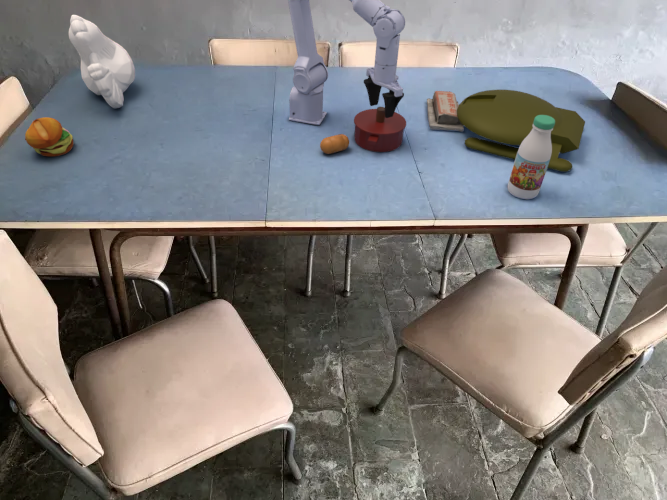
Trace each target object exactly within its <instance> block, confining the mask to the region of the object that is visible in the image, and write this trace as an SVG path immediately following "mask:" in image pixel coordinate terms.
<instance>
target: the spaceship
mask: <svg viewBox="0 0 667 500" xmlns="http://www.w3.org/2000/svg"><path fill="white" fill-rule="evenodd" d="M458 104H459V106H458V108H457V117H458V119H459V121H460V122H461V123H462V124H463V127H464V128H466V129H467V130H469V131H470V132H472V133H474V134H475V135H477V136H480V137H482V138H480V137H476V136H475V137H474V136H469V137H467V138H466V139H465V140H464V145H465V146H466V147H467V149H470V150H473V151H478V152H480V153H481V152H482V153H486V154H490V155H494V156H498V157H502V158H506V159H509V160H514V161H515V158H516V155H517V152H518V149H519V147H520V145H521V143H522V141H523V140H524V139H525V138H526V137H527V136H528V134H529V133H530V132H531V130H532V129H533V122H534V119H535V117H536V116H538V115H547V116H550V117H552V118H554V119H555V125H554V127H553V130H552V131H551V144H552V153H551V158H550V161H549V164H548V167H547V169H549V170H553V171H556V172H561V173H562V172H563V173H565V172H566V173H567V172H570V171H572V170H573V164H572V162H571V161H569V160H568V159H566V158H562V157H559V155H560V154H567V153H569V152H572V151H576V150H579V149H580V145H581V141H582V137H583V132H584V130H585V125H586V120H584V119H583V118H582V117H581V115H580V114H579V113H578V112H577V111H575V110H571V109H566V108H562V107H558V106H555V105H554V104H552V103H550V102H549V101H547V100H546V99H544V98H541V97H539V96H537V95H534V94H531V93H529V92H528V93H527V92H525V91H518V90H514V89H486V90H482V91H478V92H475V93H473V94H470V95H468V96H466V97H465V98H464V99H462V101H461V102H460V103H458ZM516 146H519V147H516Z"/></svg>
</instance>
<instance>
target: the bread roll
mask: <svg viewBox="0 0 667 500" xmlns="http://www.w3.org/2000/svg"><path fill="white" fill-rule="evenodd" d="M349 146H350V138H349V137H348V136H347V135H346V134H344V133H339V134H335V135H330V136H327V137H324V138H322V140H321V141H320V144H319V148H320V150H321V152H322V153H324V154H327V155H330V154H334V153H338V152H342V151H345V150H347V149H348V148H349Z"/></svg>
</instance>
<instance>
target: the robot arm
mask: <svg viewBox="0 0 667 500" xmlns="http://www.w3.org/2000/svg"><path fill="white" fill-rule="evenodd" d="M348 1H349V2H351V3H352V9H353V12H355V13H356V14H357V15H358V16H359V17H360V18H362V19H363V21H365V22H366V23H368V25H370V26H371V27H372V30H373V33H374V36H375V37H376V43H375V55H374V66H373V67H369V68H366V70H365V71H366V73H365V75H366V77H367V78H365V79H364V80H363V84H364V86H365V88H366V91H367V96H368V102H369V106H370V107H373V106H378V104H379V101H380V97H381V96H382V99H383V103H384V108H385V117H386V118H389V117H393V114H394V112H396V109H397V107H398V105H399V103H400V102H401V100H402V99H403V98H404V97H405V93H404V88H403V87H402V86H401V85H400V83H399V81H398V80H399V76H398V75H397V67H398V59H399V49H400V42H401V41H400V39H401V33H402V32H403V30H404V29H405V26H406V19H405V16H404V14H403V13H402V12H401V10H399V9H397V8H391V7H390V5H386V4H385V3H384V2H383V1H381V0H348ZM287 3H288V9H289V14H290V20H291V26H292V31H293V37H294V42H295V48H296V52H297V53H296V54H297V59H296V60H295V63H294V65H293V77H292V84H293V86H292V87H291V89H290V94H289V99H288V101H289V102H288V103H289V118H288V120H289V121H292V122H296V123H304V124H310V125H315V126H320V125H321V124H322V122H323V121H324V119H325V117H326V116H327V114H328V112H327V111H324V87H325V83H326V82H327V81H328V78H329V71H328V68H327V66H326V64H325V61H324V57H323V56H322V55H320V54H319V53H318V49H317V42H316V36H315V30H314V29H315V28H314V23H313V16H312V10H311V4H310V0H287ZM382 88H384V89H386V90H388V92H383V93H381V92H382V91H381V90H382ZM380 95H381V96H380Z"/></svg>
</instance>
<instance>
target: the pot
mask: <svg viewBox="0 0 667 500" xmlns="http://www.w3.org/2000/svg"><path fill="white" fill-rule="evenodd" d="M404 132H405V129H404V130H402V131H401V132H399V133H396V134H392V135H374V134H369V133H366V132H364V131H362V130H360V129H359V128H357V127H356V125H355V124H354V137H353V138H354V142H355V144H356V145H357V146H359V148H361V149H364V150H367V151H370V152H375V153H387V152H392V151H395V150H397V149H399V148H400V147H401V146H402V145H403V140H404Z"/></svg>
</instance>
